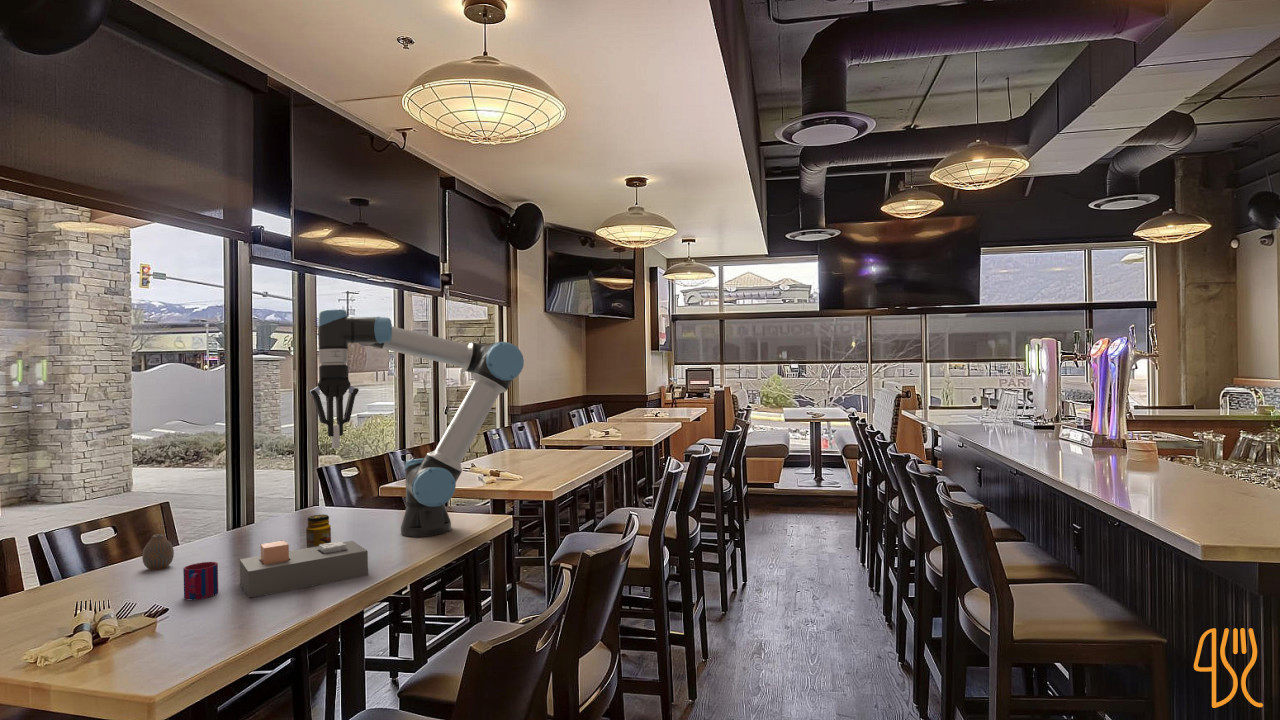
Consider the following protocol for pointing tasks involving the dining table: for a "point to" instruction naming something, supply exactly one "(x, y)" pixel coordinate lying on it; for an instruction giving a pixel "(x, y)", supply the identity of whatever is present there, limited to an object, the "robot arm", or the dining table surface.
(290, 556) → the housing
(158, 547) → the vase
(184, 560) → the dining table surface
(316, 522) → the condiment
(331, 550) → the white block
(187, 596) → the mug
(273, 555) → the tan rectangular block
